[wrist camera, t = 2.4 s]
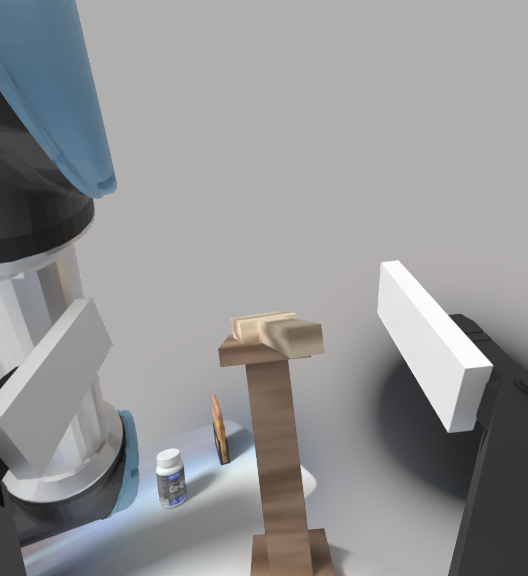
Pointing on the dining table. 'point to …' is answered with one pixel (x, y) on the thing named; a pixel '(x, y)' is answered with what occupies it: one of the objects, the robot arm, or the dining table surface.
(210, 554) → the dining table surface
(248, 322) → the paddle
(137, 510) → the dining table surface
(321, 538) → the stand
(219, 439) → the ammunition clip
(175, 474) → the pill bottle
